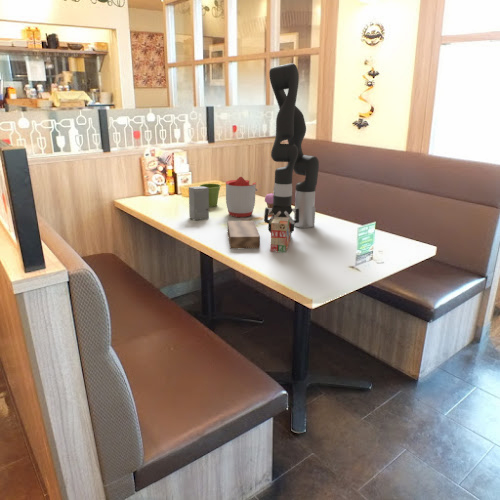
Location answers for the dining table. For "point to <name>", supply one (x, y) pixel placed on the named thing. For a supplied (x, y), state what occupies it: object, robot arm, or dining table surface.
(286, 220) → the stack of blocks
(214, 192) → the plant pot
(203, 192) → the skincare box
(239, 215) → the citrus juicer
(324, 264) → the dining table surface
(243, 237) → the walnut block
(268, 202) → the cupcake
